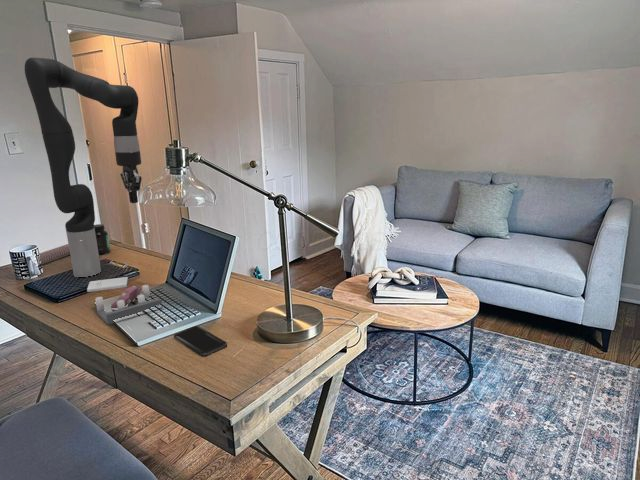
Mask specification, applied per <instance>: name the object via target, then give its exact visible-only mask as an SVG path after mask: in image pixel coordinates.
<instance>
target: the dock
mask: <svg viewBox="0 0 640 480" xmlns="http://www.w3.org/2000/svg"><path fill="white" fill-rule="evenodd" d="M141 292H142V294H141V293H139V295H138V296H137V297H136V298H137V304H134V305H130V306H128V307H125V303H124V300H118V301H117V306H118V310H112V311H109V312H106V310H105V304H104V298H103V296H97V297H95V298H94V299H95V306H96V313H97V314H98V316H99V317H100V318H101V319H102V320H103V321H104V322H105V323H106V324H107V326H108V325H112V324H115V323H114V322H113V320H115V319H118V318H122V317H125V316H129V315H132V314H135V313H138V312H141V311H144V310H146V309H149V308H151V307H154V306H156V305H159V304H161V303H162V299H160V297H158V298H153V299H154V300H151V301H147V302H145V297H149V296H150V297H151V293H150V286H149V284H143V285H141ZM104 310H105V311H104ZM97 314H96V315H97Z"/></svg>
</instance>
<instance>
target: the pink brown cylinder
mask: <svg viewBox="0 0 640 480" xmlns="http://www.w3.org/2000/svg"><path fill="white" fill-rule="evenodd" d="M38 254H39V255H40V261H41V264H42V265H41V266H43V265H45V264H49V263H50V262H55V261H57V260H59V259H62V258H64V257H67V256H70V250H69V245H68V243H67V244H63V245H60V246H57V247H55V248H51V249H48V250H46V251H43V252H39V253H38Z"/></svg>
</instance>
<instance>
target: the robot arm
mask: <svg viewBox="0 0 640 480" xmlns="http://www.w3.org/2000/svg"><path fill="white" fill-rule="evenodd" d="M24 74H25V79H26V83H27V85H28V88H29V90H30V91H29V92H30V94H31V97H32V100H33V103H34V106H35V110H36V113H37V118H38V122H39V125H40V130H41V134H42V139H43V140H42V141H43V142H44V143H43V144H44V148H45V152H46V155H47V158H48V159H47V160H48V164H49V170H50V175H51V183H52V184H51V185H52V190H53V197H54V200H55V204H56V206H57V208H58V209H59V211H60V212H61V213H64V214H72V213H73V216H72V217H71V218H70V219H68V220H67V221H66V222H65V225H64V226H65V232H66V238H67V244H68V245H69V250H70V255H69V256H70V261H71V267H72V273H73V276H74V277H75V278H78V277H86V278H89V277H88V276H91V277H94V276H93V275H95V276H97V275H96V274H98V273H99V274H101V273H102V268H101V261H100V255H99V254H98V247H97V241H96V235H95V228H94V225H95V221H96V215H95V213H96V211H95V205H94V197H93V193H92V191H91V189H90V188H89V186H87V184H83V183H79V184H71V180H70V167H71V164H72V161H73V159H74V156H75V153H76V152H75V151H76V142H75V137H74V132H73V128H72V125H71V124H70V122H69V121H68V119H67V118H66V117H65V116H64V114H63V113H62V112H61V111H60V110H59V109H58V107H57V106H56V105H55V103H54V101H53V98H52V95H51V94H52V93H51V92H50V91H51V90H50V89H58V88H63V89H71V90H74V91H75V92H76V93H77V94H78V95H80V96H82V97H85V98H88V99H90V100H93V101H96V102H99V103H100V104H101V105H103V106H105V107H108V108H109V109H113V110H114V109H117V110H119V109H120V112H119V114H118V116H116V117H114V118H112V121H111V124H112V125H111V126H112V133H113V134H112V135H113V147H114V153H115V154H114V155H115V161H116V162H115V163H116V166H118V167H122V170H121V173H120V178H121V181H122V183H123V186H124V188H125V190H126V191H127V192H128V196H129V198H128V199H129V203H131V204H137V203H138V202H139V199H138V198H139V197H138V191H140V188H141V184H142V179H143V178H142V176H140V175H139V171H138V167H137V166H140V165H142V157H141V148H140V143H139V141H140V140H139V138H138V130H137V117H138V111H139V95H138V93H137V91H136V90H135V88H134V87H132V86H130V85H126V84H124V85H123V84H121V85H120V84H111V83H110V82H108V81H107V80H104V79H103V78H99V77H95V76H92V75H90V74H86V73H82V72H80V71H77V70H75V69H74V68H71V67H69V66H68V65H66V64H64V63H62V62H61V61H58V60H56V59H53V58H44V57H29V58H27V59H26V61H25V62H24ZM100 272H101V273H100ZM99 274H98V275H99Z"/></svg>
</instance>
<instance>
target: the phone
mask: <svg viewBox="0 0 640 480" xmlns="http://www.w3.org/2000/svg"><path fill="white" fill-rule="evenodd" d="M173 339H174V340H175V341H177V342H178V343H180V344H181V345H183V346H184V347H186V348H187V349H189V350H190V351H192V352H193V353H194V354H196V355H197V356H200V357H203V358H205V357H208V356H210V355H212V354H215V353H216V352H219V351H222V350H224V349H225V348H227V347H228V342H227V341H225V340H224V339H222V338H219V337H218V336H217V335H215V334H213V333H212V332H210V331H207V330H206V329H204V328H203V327H201V326H199V325H195V326H192V327H189V328H186V329H184V330H181V331H178V332H176V333H174V334H173Z"/></svg>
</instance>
